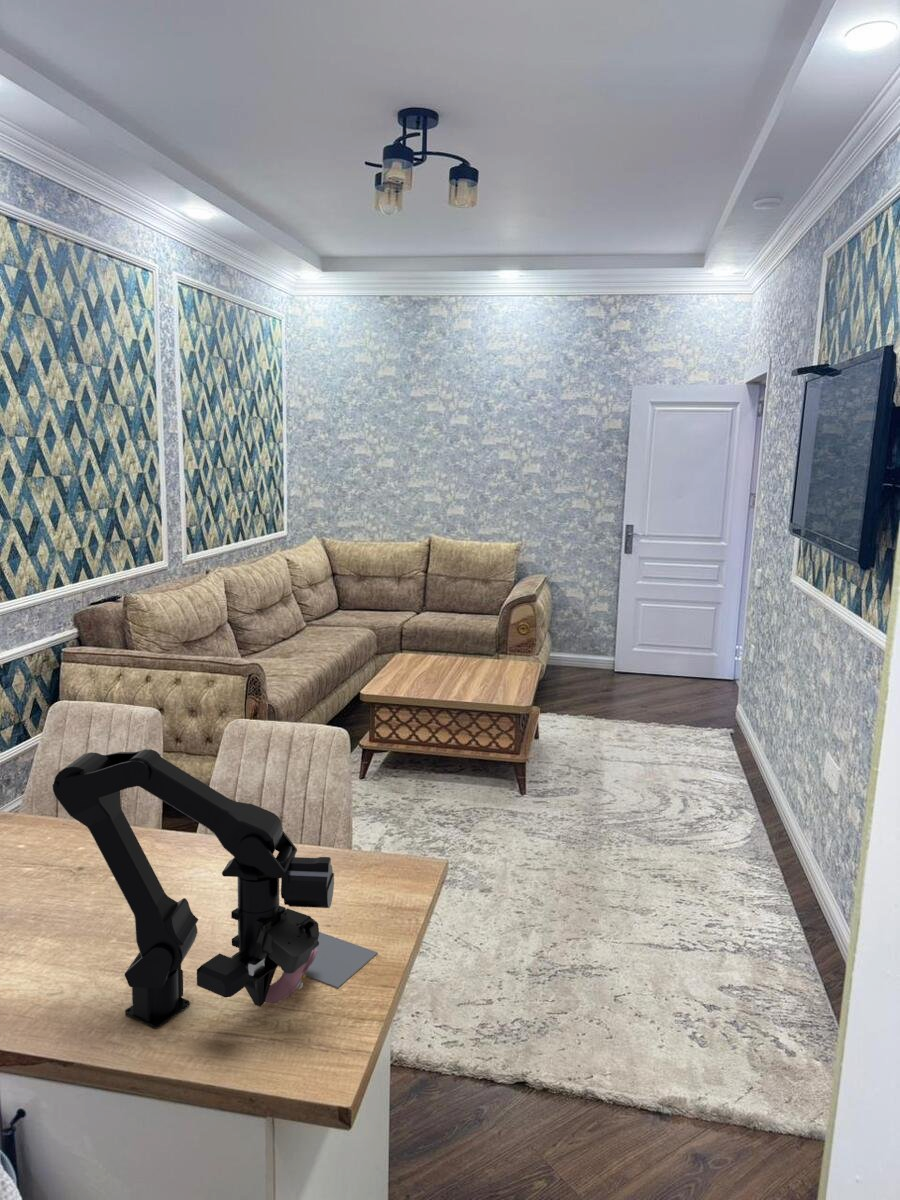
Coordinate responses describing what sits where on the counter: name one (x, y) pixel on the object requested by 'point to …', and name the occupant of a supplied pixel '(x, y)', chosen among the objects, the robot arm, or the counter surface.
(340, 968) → the mat
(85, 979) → the counter surface
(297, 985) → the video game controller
